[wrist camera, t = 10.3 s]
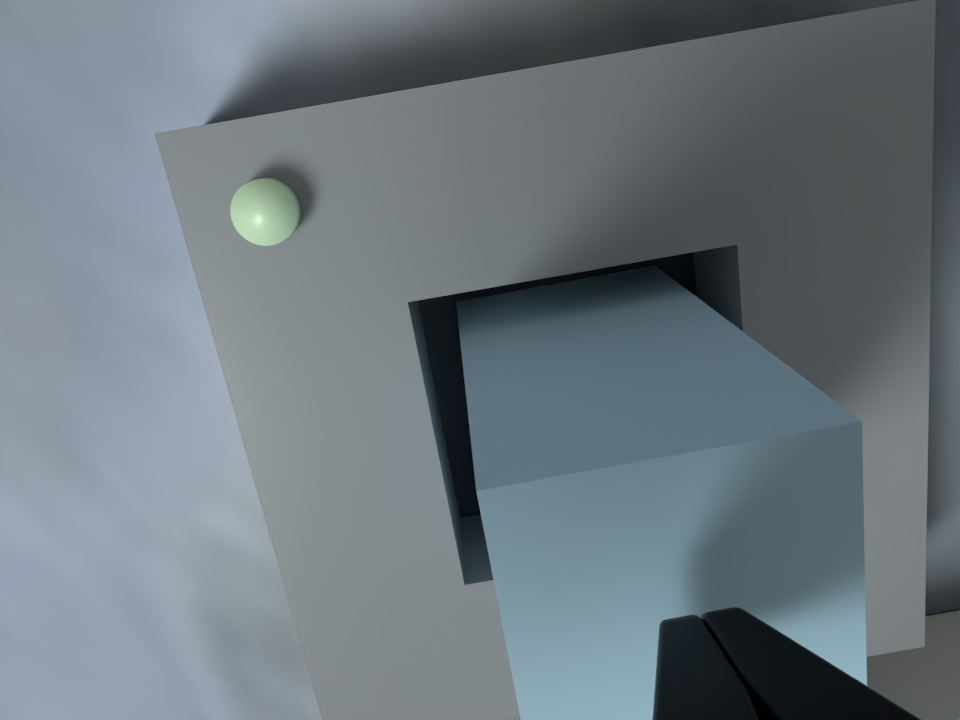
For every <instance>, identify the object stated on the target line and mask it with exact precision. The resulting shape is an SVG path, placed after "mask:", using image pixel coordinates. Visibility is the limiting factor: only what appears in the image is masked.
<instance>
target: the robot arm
mask: <svg viewBox="0 0 960 720" xmlns="http://www.w3.org/2000/svg"><path fill="white" fill-rule="evenodd" d="M652 720H921V719H920V718H918V717H916V716H915V715H913V714H912V713H910V712H908V711H907V710H905V709H904V708H902V707H900V706H899V705H897V704H895V703H894V702H892V701H891V700H889V699H887V698H886V697H884V696H883V695H881V694H879V693H878V692H876V691H874V690H873V689H871V688H870V687H868V686H866V685H865V684H863V683H862V682H860V681H858V680H857V679H855V678H853V677H852V676H850V675H849V674H847V673H845V672H844V671H842V670H841V669H839V668H837V667H836V666H834V665H832V664H831V663H829V662H828V661H826V660H824V659H823V658H821V657H820V656H818V655H816V654H815V653H813V652H812V651H810V650H808V649H807V648H805V647H803V646H802V645H800V644H799V643H797V642H795V641H794V640H792V639H791V638H789V637H787V636H786V635H784V634H782V633H781V632H779V631H778V630H776V629H774V628H773V627H771V626H770V625H768V624H766V623H765V622H763V621H761V620H760V619H758V618H757V617H755V616H753V615H752V614H750V613H749V612H747V611H745V610H743V609H741V608H738V607H731V608H726V609H720V610H715V611H709V612H705V613H703V614H702V616H701V617H699V616H696V615H686V616H681V617H675V618H669V619H665V620H663V621H661V623H660V625H659V637H658V650H657V664H656V678H655V691H654V705H653V719H652Z"/></svg>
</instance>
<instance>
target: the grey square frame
mask: <svg viewBox="0 0 960 720" xmlns="http://www.w3.org/2000/svg"><path fill="white" fill-rule="evenodd" d="M866 659H867V686H868V687H870V688H871V689H873V690H874V691H876V692H878V693H879V694H881V695H883V696H884V697H886V698H887V699H889V700H891V701H892V702H894V703H895V704H897V705H899V706H900V707H902V708H904V709H905V710H907V711H908V712H910V713H912V714H913V715H915V716H916V717H918V718H920V719H921V720H960V610H959V611H953V612H948V613H942V614H936V615H931V616H925V647H920V648H915V649H909V650H903V651H898V652H892V653H886V654H881V655H875V656H869V657H866Z"/></svg>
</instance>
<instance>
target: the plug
mask: <svg viewBox="0 0 960 720" xmlns="http://www.w3.org/2000/svg"><path fill="white" fill-rule="evenodd" d="M456 306H457V315H458V325H459V334H460V344H461V353H462V362H463V372H464V381H465V390H466V400H467V409H468V419H469V428H470V437H471V447H472V456H473V466H474V475H475V484H476V492H477V498H478V503H479V508H480V513H481V518H482V523H483V529H484V534H485V539H486V544H487V549H488V554H489V559H490V565H491V570H492V575H493V580H494V585H495V590H496V596H497V601H498V606H499V611H500V616H501V621H502V626H503V632H504V637H505V642H506V647H507V652H508V657H509V663H510V668H511V673H512V678H513V683H514V688H515V693H516V699H517V704H518V709H519V714H520V719H521V720H652V719H653V705H654V691H655V678H656V664H657V650H658V637H659V625H660V623H661V621H663V620H665V619H669V618H675V617H681V616H686V615H696V616H699V617H701V616H702V614H703V613H705V612H709V611H715V610H720V609H726V608H731V607H738V608H741V609H743V610H745V611H747V612H749V613H750V614H752V615H753V616H755V617H757V618H758V619H760V620H761V621H763V622H765V623H766V624H768V625H770V626H771V627H773V628H774V629H776V630H778V631H779V632H781V633H782V634H784V635H786V636H787V637H789V638H791V639H792V640H794V641H795V642H797V643H799V644H800V645H802V646H803V647H805V648H807V649H808V650H810V651H812V652H813V653H815V654H816V655H818V656H820V657H821V658H823V659H824V660H826V661H828V662H829V663H831V664H832V665H834V666H836V667H837V668H839V669H841V670H842V671H844V672H845V673H847V674H849V675H850V676H852V677H853V678H855V679H857V680H858V681H860V682H862V683H863V684H865V685H866V686H867V659H866V606H865V553H864V500H863V448H862V421H861V420H859V419H858V418H857V417H856V416H854V415H853V414H852V413H850V412H849V411H848V410H846V409H845V408H844V407H842V406H841V405H840V404H838V403H837V402H836V401H834V400H833V399H832V398H830V397H829V396H828V395H826V394H825V393H824V392H822V391H821V390H820V389H818V388H817V387H816V386H814V385H813V384H812V383H810V382H809V381H808V380H806V379H805V378H804V377H802V376H801V375H800V374H798V373H797V372H796V371H794V370H793V369H792V368H790V367H789V366H788V365H786V364H785V363H784V362H782V361H781V360H780V359H778V358H777V357H776V356H775V355H773V354H772V353H771V352H769V351H768V350H767V349H765V348H764V347H763V346H761V345H760V344H759V343H757V342H756V341H755V340H753V339H752V338H751V337H749V336H748V335H747V334H745V333H744V332H743V331H741V330H740V329H739V328H737V327H736V326H735V325H733V324H732V323H731V322H729V321H728V320H727V319H725V318H724V317H723V316H721V315H720V314H719V313H717V312H716V311H715V310H713V309H712V308H711V307H709V306H708V305H707V304H705V303H704V302H703V301H701V300H700V299H699V298H698V297H696V296H695V295H694V294H692V293H691V292H690V291H688V290H687V289H686V288H684V287H683V286H682V285H680V284H679V283H678V282H676V281H675V280H674V279H672V278H671V277H670V276H668V275H667V274H666V273H664V272H663V271H662V270H660V269H659V268H658V267H656V266H650V267H645V268H639V269H634V270H628V271H623V272H617V273H611V274H606V275H600V276H595V277H589V278H584V279H578V280H573V281H567V282H562V283H556V284H551V285H545V286H540V287H534V288H529V289H523V290H518V291H512V292H507V293H501V294H495V295H490V296H484V297H479V298H473V299H468V300H462V301H457V302H456Z"/></svg>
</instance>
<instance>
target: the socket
mask: <svg viewBox="0 0 960 720" xmlns="http://www.w3.org/2000/svg"><path fill="white" fill-rule="evenodd" d="M935 19H936V0H916V1H910V2H905V3H899V4H893V5H887V6H882V7H876V8H870V9H865V10H859V11H853V12H847V13H842V14H836V15H830V16H825V17H819V18H813V19H807V20H802V21H796V22H790V23H784V24H779V25H773V26H767V27H762V28H756V29H750V30H744V31H739V32H733V33H727V34H722V35H716V36H710V37H704V38H699V39H693V40H687V41H682V42H676V43H670V44H664V45H659V46H653V47H647V48H642V49H636V50H630V51H624V52H619V53H613V54H607V55H602V56H596V57H590V58H584V59H579V60H573V61H567V62H562V63H556V64H550V65H544V66H539V67H533V68H527V69H522V70H516V71H510V72H504V73H499V74H493V75H487V76H482V77H476V78H470V79H464V80H459V81H453V82H447V83H441V84H436V85H430V86H424V87H419V88H413V89H407V90H401V91H396V92H390V93H384V94H379V95H373V96H367V97H361V98H356V99H350V100H344V101H339V102H333V103H327V104H321V105H316V106H310V107H304V108H299V109H293V110H287V111H281V112H276V113H270V114H264V115H259V116H253V117H247V118H241V119H236V120H230V121H224V122H219V123H213V124H207V125H201V126H196V127H190V128H184V129H179V130H173V131H167V132H161V133H156V134H155V136H156V140H157V143H158V147H159V150H160V154H161V157H162V161H163V164H164V168H165V171H166V175H167V178H168V182H169V185H170V189H171V192H172V196H173V199H174V203H175V206H176V209H177V213H178V216H179V220H180V223H181V227H182V230H183V234H184V237H185V241H186V244H187V248H188V251H189V255H190V258H191V262H192V265H193V269H194V272H195V276H196V279H197V283H198V286H199V290H200V293H201V297H202V300H203V304H204V307H205V311H206V314H207V318H208V321H209V325H210V328H211V332H212V335H213V339H214V342H215V346H216V349H217V353H218V356H219V360H220V363H221V367H222V370H223V374H224V377H225V381H226V384H227V388H228V391H229V395H230V398H231V402H232V405H233V409H234V412H235V416H236V419H237V423H238V426H239V430H240V433H241V437H242V440H243V444H244V447H245V450H246V454H247V457H248V461H249V464H250V468H251V471H252V475H253V478H254V482H255V485H256V489H257V492H258V496H259V499H260V503H261V506H262V510H263V513H264V517H265V520H266V524H267V527H268V531H269V534H270V538H271V541H272V545H273V548H274V552H275V555H276V559H277V562H278V566H279V569H280V573H281V576H282V580H283V583H284V587H285V590H286V594H287V597H288V601H289V604H290V608H291V611H292V615H293V618H294V622H295V625H296V629H297V632H298V636H299V639H300V643H301V646H302V650H303V653H304V657H305V660H306V664H307V667H308V671H309V674H310V678H311V681H312V685H313V688H314V691H315V695H316V698H317V702H318V705H319V709H320V712H321V716H322V719H323V720H511V719H516V718H520V714H519V709H518V704H517V699H516V693H515V688H514V683H513V678H512V673H511V668H510V663H509V657H508V652H507V647H506V642H505V637H504V632H503V626H502V621H501V616H500V611H499V606H498V601H497V596H496V590H495V585H494V580H493V575H492V570H491V565H490V559H489V554H488V549H487V544H486V539H485V534H484V529H483V523H482V518H481V514H479V515H473V516H468V517H462V518H460V514H459V509H458V504H457V499H456V493H455V488H454V483H453V478H452V473H451V468H450V463H449V458H448V453H447V448H446V443H445V438H444V432H443V427H442V422H441V417H440V412H439V407H438V402H437V397H436V392H435V387H434V382H433V377H432V371H431V366H430V361H429V356H428V351H427V346H426V341H425V336H424V331H423V326H422V321H421V316H420V310H419V305H418V300H424V299H429V298H435V297H441V296H447V295H452V294H458V293H464V292H469V291H475V290H481V289H486V288H492V287H498V286H504V285H509V284H515V283H521V282H526V281H532V280H538V279H544V278H549V277H555V276H561V275H566V274H572V273H578V272H584V271H589V270H595V269H601V268H606V267H612V266H618V265H623V264H629V263H635V262H641V261H646V260H652V259H658V258H663V257H669V256H675V255H681V254H686V253H692V252H693V257H694V269H695V282H696V294H697V297H698V298H699V299H700V300H701V301H703V302H704V303H705V304H707V305H708V306H709V307H711V308H712V309H713V310H715V311H716V312H717V313H719V314H720V315H721V316H723V317H724V318H725V319H727V320H728V321H729V322H731V323H732V324H733V325H735V326H736V327H737V328H739V329H740V330H741V331H743V332H744V333H745V334H747V335H748V336H749V337H751V338H752V339H753V340H755V341H756V342H757V343H759V344H760V345H761V346H763V347H764V348H765V349H767V350H768V351H769V352H771V353H772V354H773V355H775V356H776V357H777V358H778V359H780V360H781V361H782V362H784V363H785V364H786V365H788V366H789V367H790V368H792V369H793V370H794V371H796V372H797V373H798V374H800V375H801V376H802V377H804V378H805V379H806V380H808V381H809V382H810V383H812V384H813V385H814V386H816V387H817V388H818V389H820V390H821V391H822V392H824V393H825V394H826V395H828V396H829V397H830V398H832V399H833V400H834V401H836V402H837V403H838V404H840V405H841V406H842V407H844V408H845V409H846V410H848V411H849V412H850V413H852V414H853V415H854V416H856V417H857V418H858V419H859V420H861V421H862V448H863V500H864V553H865V606H866V657H869V656H875V655H881V654H886V653H892V652H898V651H903V650H909V649H915V648H920V647H925V596H926V539H927V481H928V423H929V365H930V308H931V250H932V192H933V135H934V77H935Z"/></svg>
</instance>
